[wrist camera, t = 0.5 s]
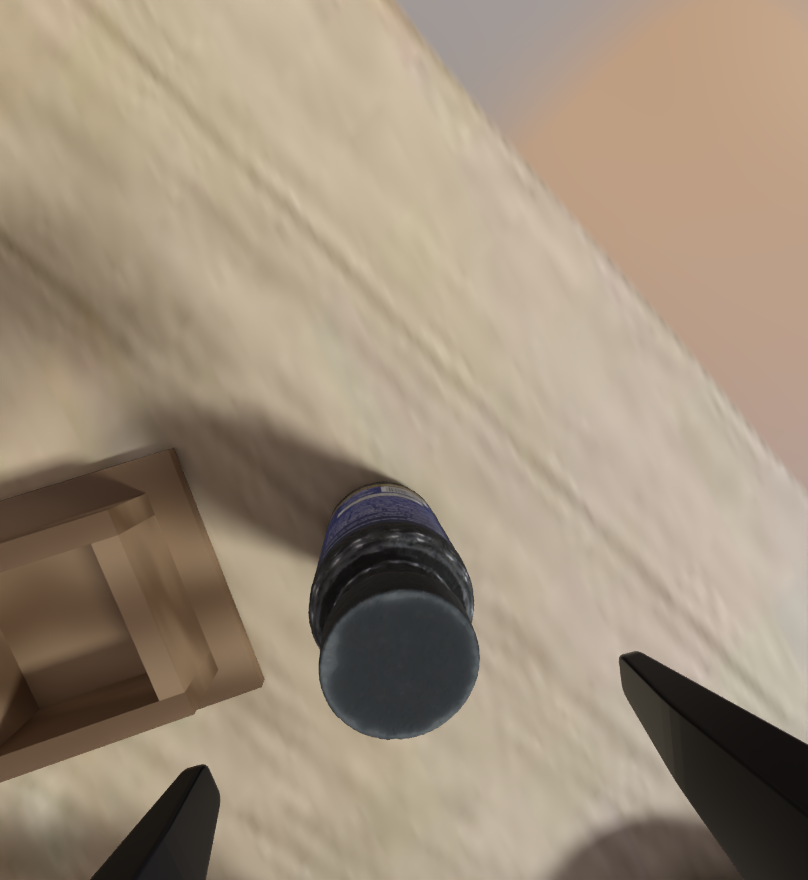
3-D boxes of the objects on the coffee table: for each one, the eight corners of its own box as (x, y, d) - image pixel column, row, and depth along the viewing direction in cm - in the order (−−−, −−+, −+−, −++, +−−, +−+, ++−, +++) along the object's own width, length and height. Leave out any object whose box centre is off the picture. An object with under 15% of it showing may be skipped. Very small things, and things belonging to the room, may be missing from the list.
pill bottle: (305, 523, 21) (242, 654, 10) (393, 457, 21) (422, 518, 11) (372, 605, 22) (379, 804, 11) (457, 541, 22) (544, 677, 11)
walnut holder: (264, 679, 22) (244, 733, 18) (16, 766, 21) (-55, 840, 18) (173, 448, 20) (132, 458, 17) (-102, 532, 19) (-207, 562, 16)
